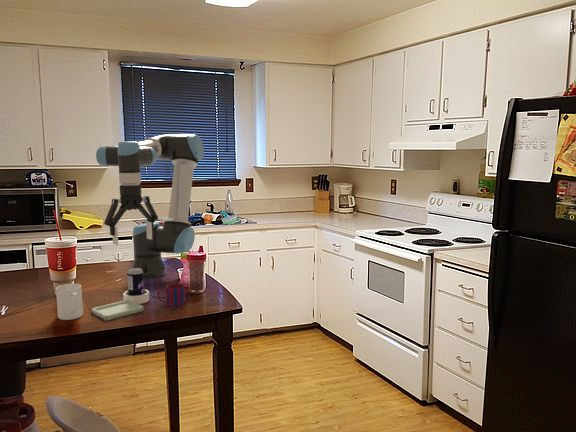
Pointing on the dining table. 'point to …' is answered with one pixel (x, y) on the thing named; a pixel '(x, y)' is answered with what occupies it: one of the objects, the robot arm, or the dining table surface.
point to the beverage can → (135, 282)
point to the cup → (174, 294)
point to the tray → (117, 309)
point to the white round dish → (137, 297)
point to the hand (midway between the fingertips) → (133, 241)
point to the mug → (69, 301)
